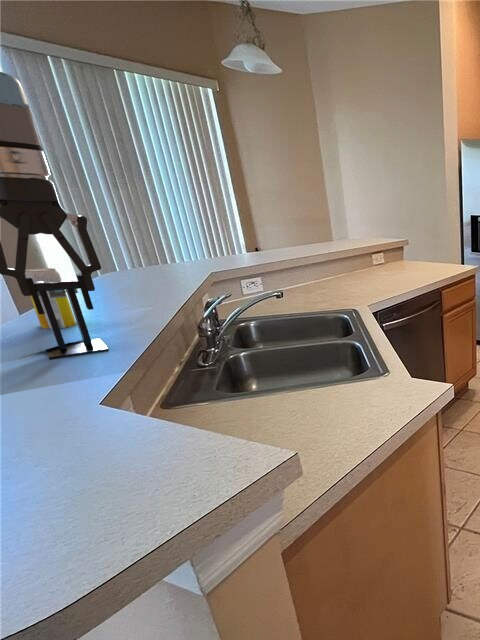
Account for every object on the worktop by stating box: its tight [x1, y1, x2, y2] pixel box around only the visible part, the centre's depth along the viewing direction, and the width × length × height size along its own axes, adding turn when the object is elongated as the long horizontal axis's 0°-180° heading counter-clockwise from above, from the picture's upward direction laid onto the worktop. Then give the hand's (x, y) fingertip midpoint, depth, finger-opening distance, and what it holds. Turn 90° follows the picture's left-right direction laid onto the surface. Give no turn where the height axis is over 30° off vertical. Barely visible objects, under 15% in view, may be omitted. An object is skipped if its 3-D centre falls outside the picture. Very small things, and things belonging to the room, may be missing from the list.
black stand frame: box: [35, 279, 110, 361], centre depth 91 cm, size 11×9×15 cm
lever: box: [34, 280, 81, 298], centre depth 86 cm, size 12×6×2 cm, turn 48°
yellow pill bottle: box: [25, 267, 77, 330], centre depth 105 cm, size 6×6×15 cm
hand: (66, 310), depth 84 cm, fingers closed on lever, 6 cm apart
